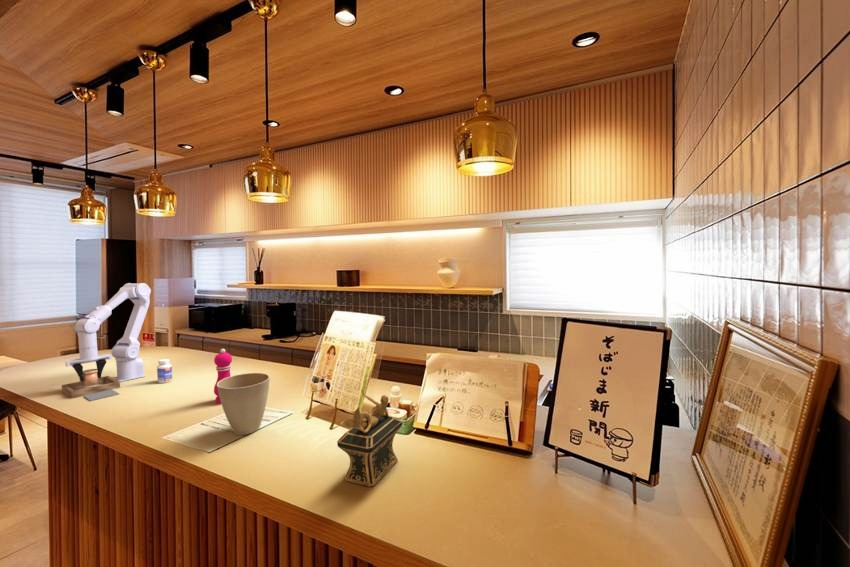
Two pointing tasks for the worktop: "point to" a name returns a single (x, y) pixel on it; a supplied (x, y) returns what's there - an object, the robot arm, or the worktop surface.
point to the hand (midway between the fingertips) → (90, 379)
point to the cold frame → (78, 393)
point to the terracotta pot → (90, 377)
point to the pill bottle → (164, 371)
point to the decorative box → (370, 443)
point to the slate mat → (101, 395)
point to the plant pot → (244, 400)
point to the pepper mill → (222, 369)
